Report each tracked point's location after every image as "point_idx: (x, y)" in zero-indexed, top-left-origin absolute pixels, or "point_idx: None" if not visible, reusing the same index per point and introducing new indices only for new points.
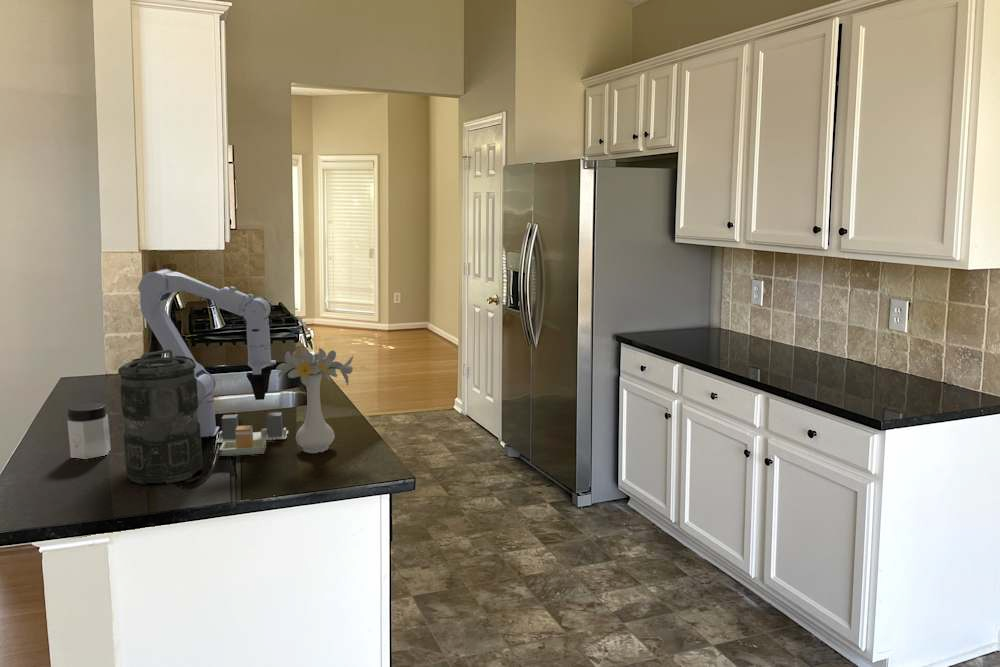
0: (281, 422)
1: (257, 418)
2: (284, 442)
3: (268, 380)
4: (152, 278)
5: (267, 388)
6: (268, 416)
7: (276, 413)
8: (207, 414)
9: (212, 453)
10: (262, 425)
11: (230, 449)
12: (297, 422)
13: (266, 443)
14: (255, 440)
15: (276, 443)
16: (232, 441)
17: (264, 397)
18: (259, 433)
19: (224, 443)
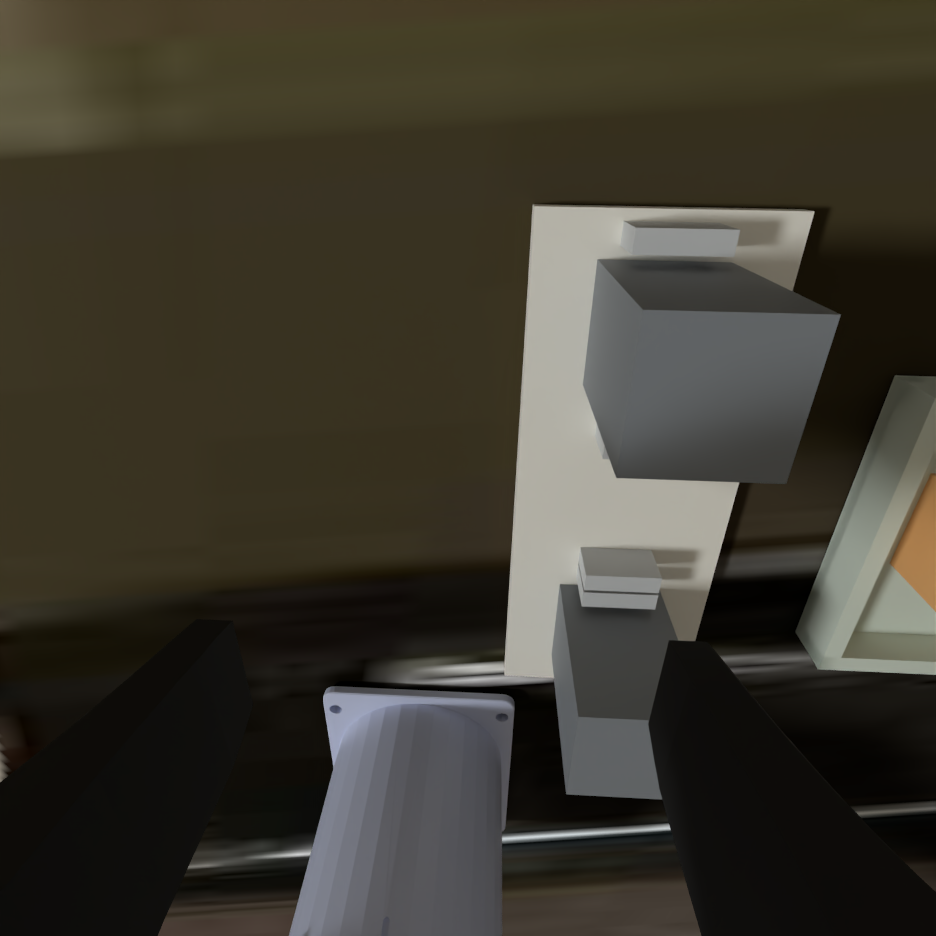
0: (725, 288)
1: (52, 497)
2: (859, 222)
3: (82, 797)
4: None
5: (196, 667)
6: (791, 462)
7: (685, 378)
8: (480, 859)
9: (874, 675)
10: (255, 449)
11: None
12: (145, 128)
13: (915, 384)
14: (918, 480)
15: (854, 297)
16: (855, 623)
17: (674, 652)
18: (561, 458)
19: (882, 661)
